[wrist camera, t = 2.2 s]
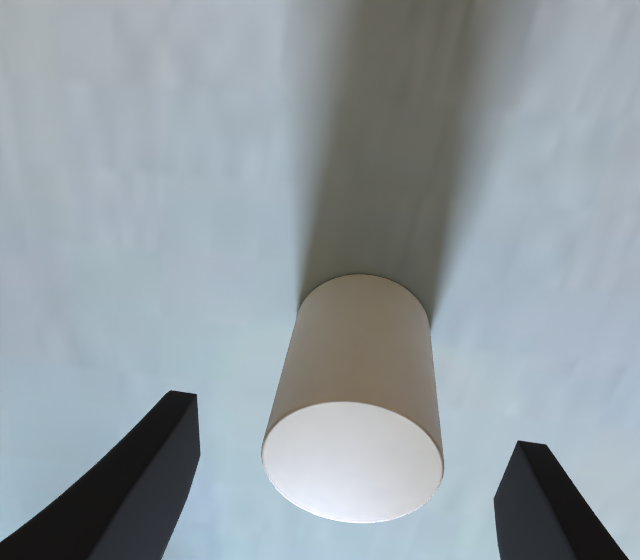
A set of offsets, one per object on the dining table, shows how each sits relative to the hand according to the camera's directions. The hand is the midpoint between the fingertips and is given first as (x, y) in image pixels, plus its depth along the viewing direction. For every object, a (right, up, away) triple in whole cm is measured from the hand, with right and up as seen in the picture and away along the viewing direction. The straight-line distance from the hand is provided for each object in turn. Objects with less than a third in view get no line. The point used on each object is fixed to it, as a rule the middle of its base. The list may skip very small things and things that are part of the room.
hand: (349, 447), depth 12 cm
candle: (+1, +2, +4) cm, 5 cm away
